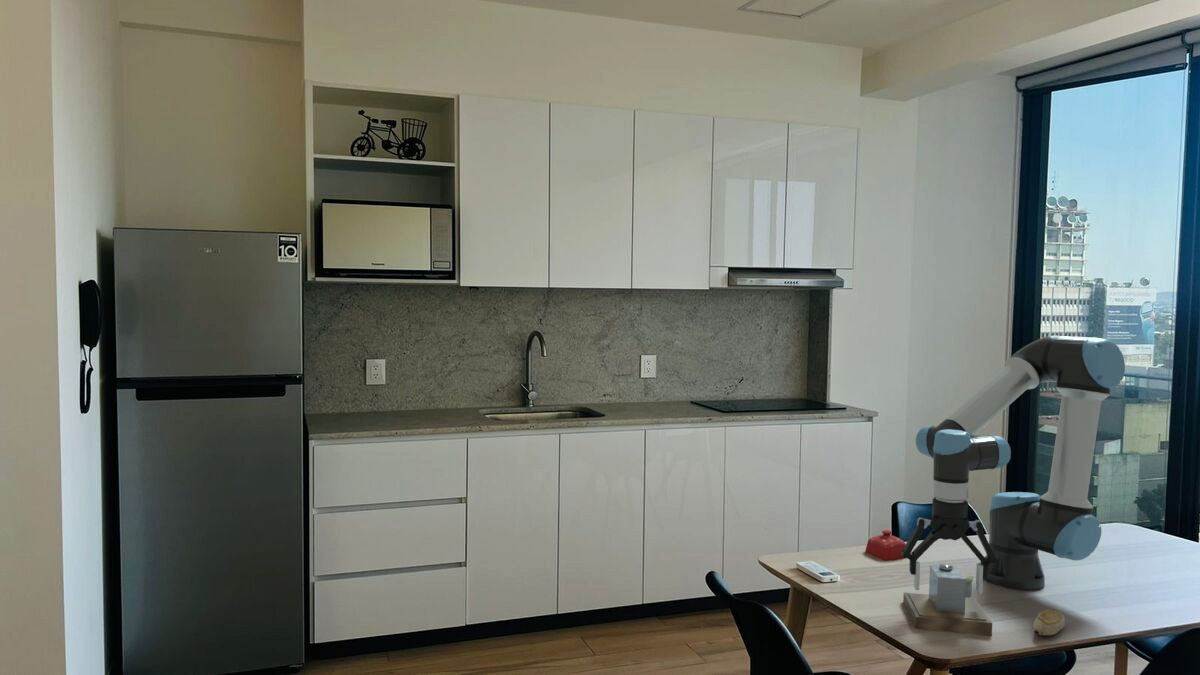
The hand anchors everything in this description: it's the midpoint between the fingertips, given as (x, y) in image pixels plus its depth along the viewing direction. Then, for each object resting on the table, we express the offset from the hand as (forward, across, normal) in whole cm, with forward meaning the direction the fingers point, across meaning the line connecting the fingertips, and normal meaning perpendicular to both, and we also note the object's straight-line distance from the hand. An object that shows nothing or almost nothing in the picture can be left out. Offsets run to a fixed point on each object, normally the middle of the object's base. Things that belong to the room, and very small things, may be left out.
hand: (947, 590), depth 201 cm
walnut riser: (+7, 0, 0) cm, 7 cm away
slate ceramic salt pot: (+7, -6, -13) cm, 16 cm away
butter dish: (+8, +7, -45) cm, 46 cm away
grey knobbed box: (+4, 0, 0) cm, 4 cm away
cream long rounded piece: (+5, -20, -2) cm, 20 cm away
